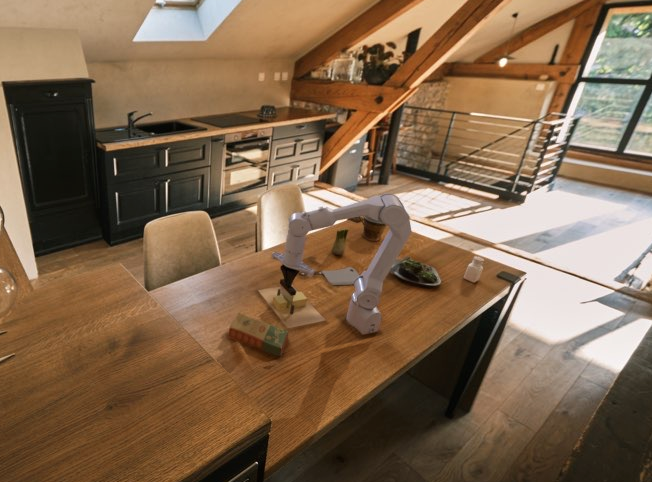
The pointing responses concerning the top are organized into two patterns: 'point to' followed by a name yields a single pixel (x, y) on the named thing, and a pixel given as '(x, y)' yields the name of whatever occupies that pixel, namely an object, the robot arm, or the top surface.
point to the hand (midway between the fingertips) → (288, 285)
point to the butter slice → (279, 303)
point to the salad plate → (415, 273)
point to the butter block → (298, 300)
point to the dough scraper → (287, 292)
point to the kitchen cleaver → (338, 276)
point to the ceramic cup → (373, 228)
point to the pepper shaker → (474, 269)
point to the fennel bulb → (340, 242)
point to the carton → (258, 334)
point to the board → (292, 310)
